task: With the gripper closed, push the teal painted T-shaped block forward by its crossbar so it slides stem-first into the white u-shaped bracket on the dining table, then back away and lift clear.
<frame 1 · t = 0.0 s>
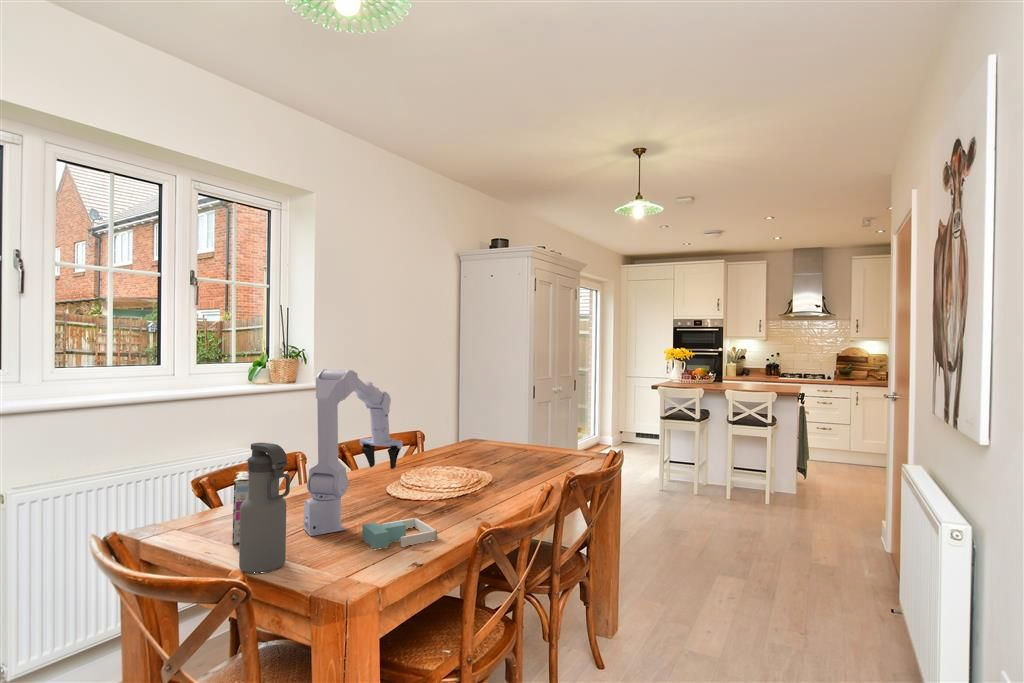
hand: (382, 467, 187), 11 cm above the table, tool pointing down, fingers open, 7 cm apart
white u-shaped bracket: (409, 536, 152), on the table
candy bar box: (244, 538, 149), on the table
t block: (386, 541, 148), on the table
water bottle: (263, 567, 131), on the table
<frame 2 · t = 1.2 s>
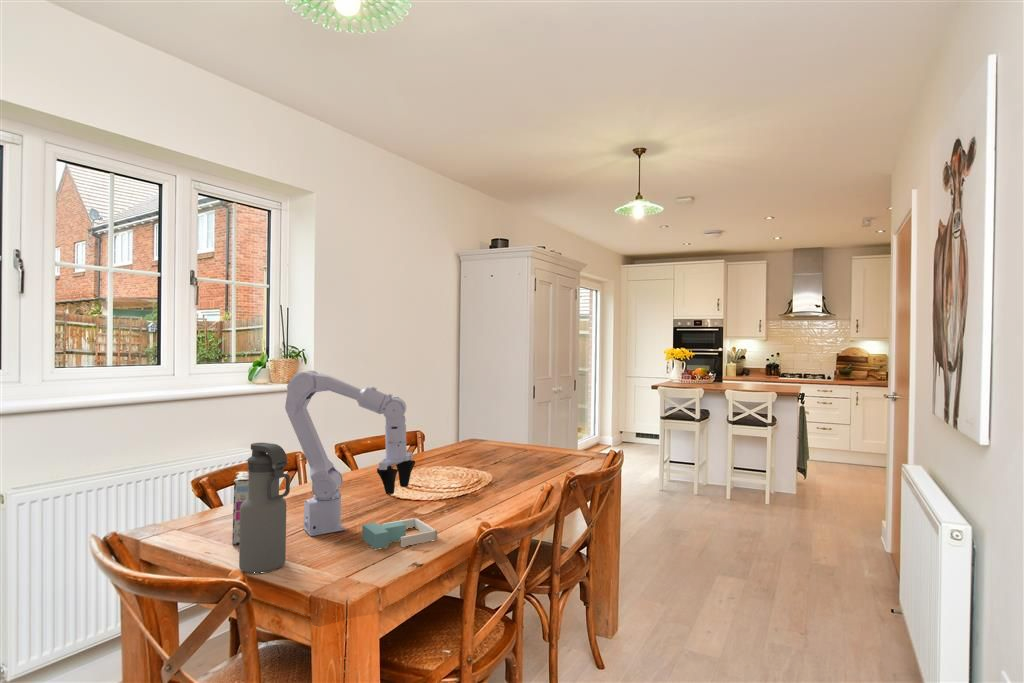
hand: (397, 490, 158), 11 cm above the table, tool pointing down, fingers open, 7 cm apart
nothing on the table moved.
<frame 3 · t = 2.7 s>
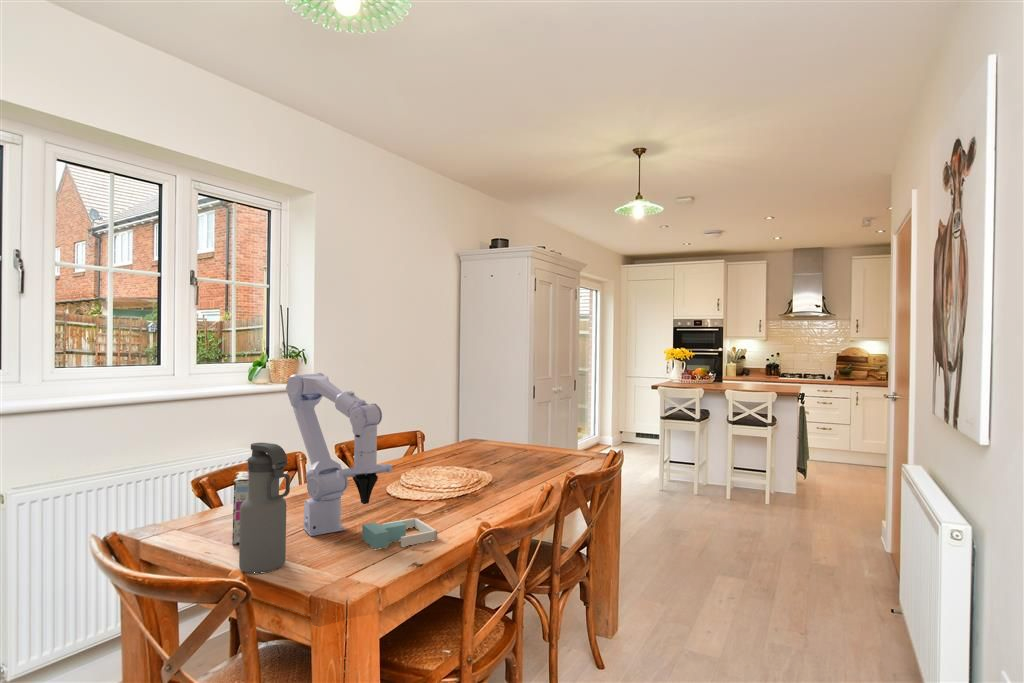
hand: (364, 502, 149), 10 cm above the table, tool pointing down, fingers closed
nothing on the table moved.
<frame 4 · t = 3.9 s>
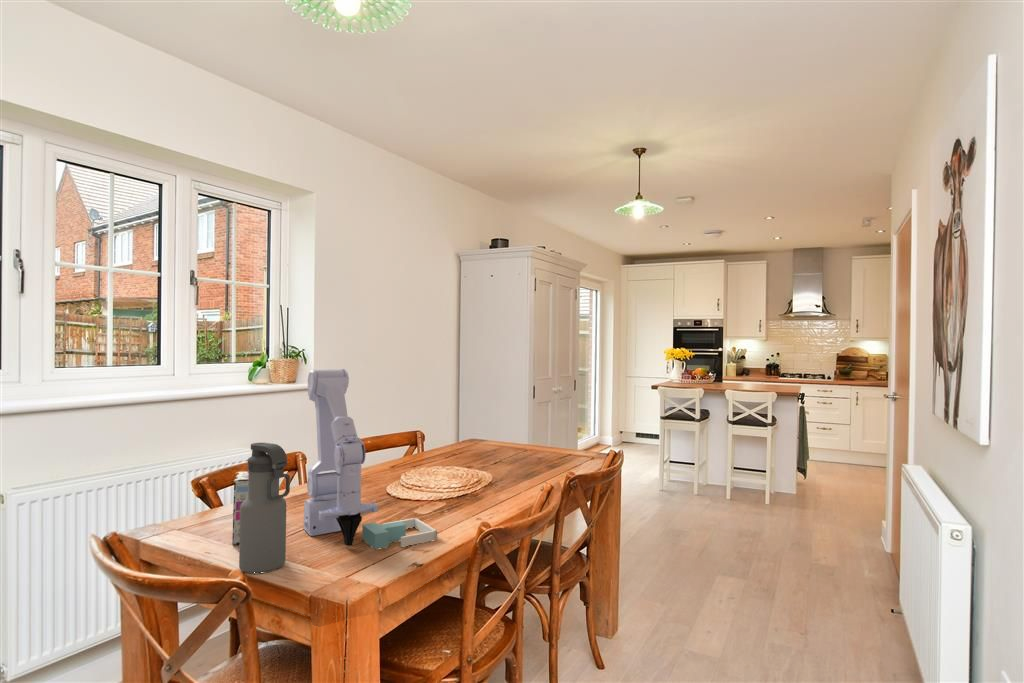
hand: (348, 544, 142), 1 cm above the table, tool pointing down, fingers closed
nothing on the table moved.
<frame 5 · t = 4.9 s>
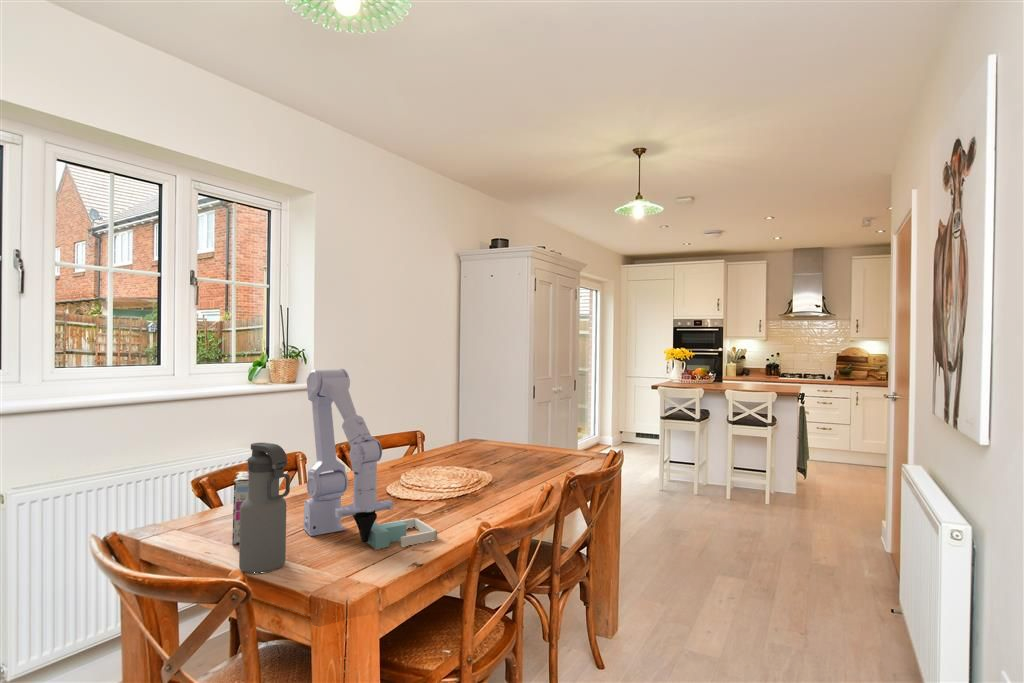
hand: (364, 541, 145), 1 cm above the table, tool pointing down, fingers closed
t block: (386, 541, 148), on the table, touching gripper
everything else where it was.
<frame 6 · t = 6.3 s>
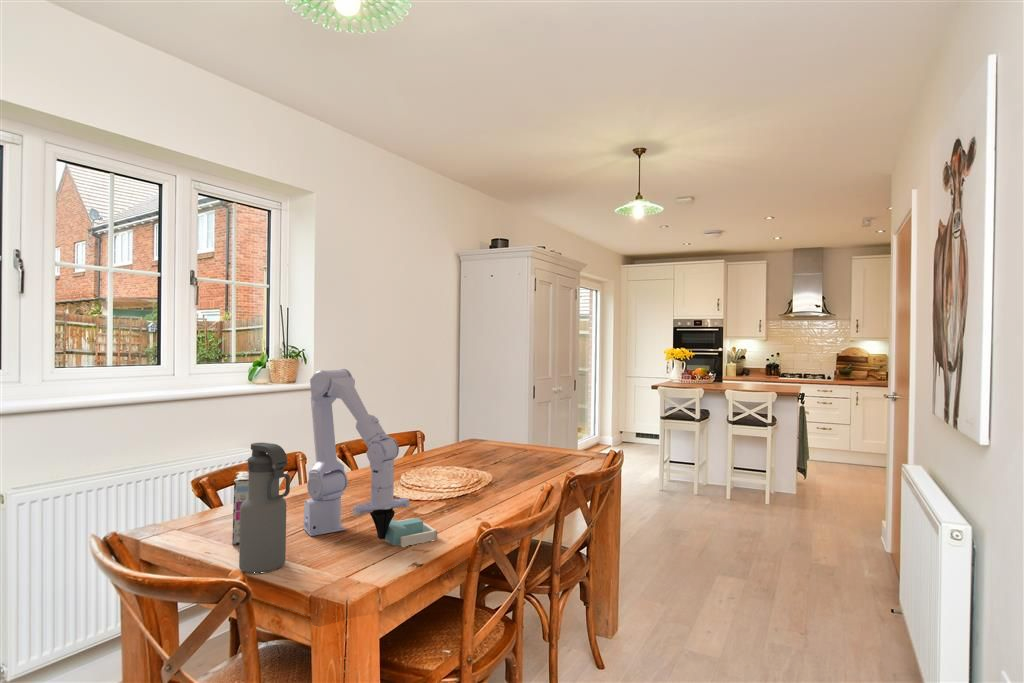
hand: (381, 538, 147), 1 cm above the table, tool pointing down, fingers closed
t block: (403, 537, 151), on the table, touching gripper
everything else where it was.
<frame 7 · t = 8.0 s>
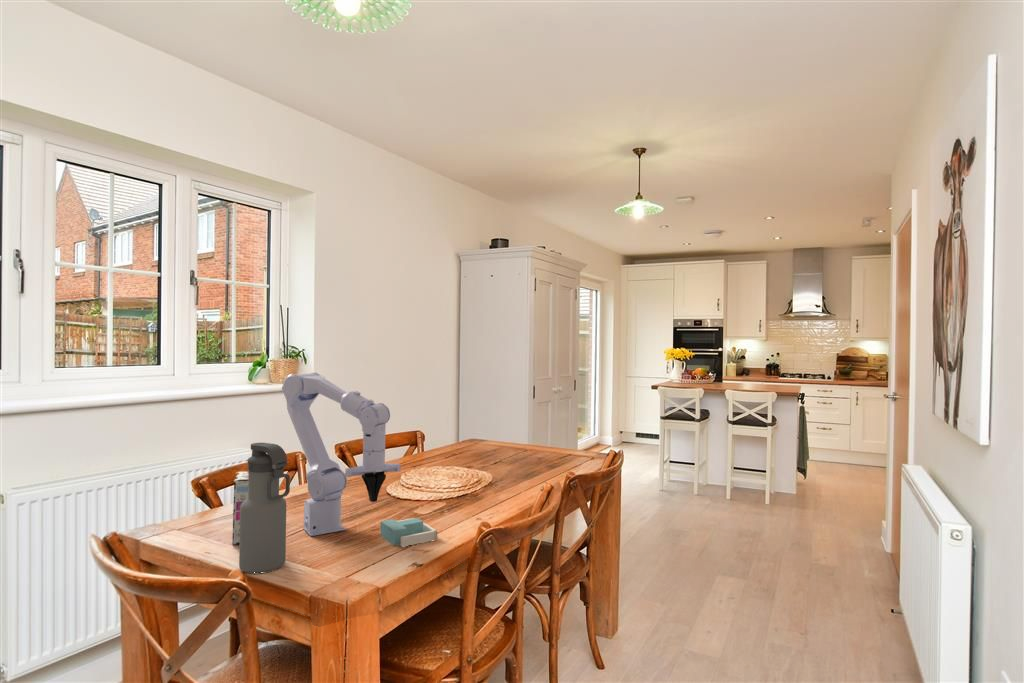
hand: (373, 500, 151), 10 cm above the table, tool pointing down, fingers closed
t block: (403, 537, 151), on the table
everything else where it was.
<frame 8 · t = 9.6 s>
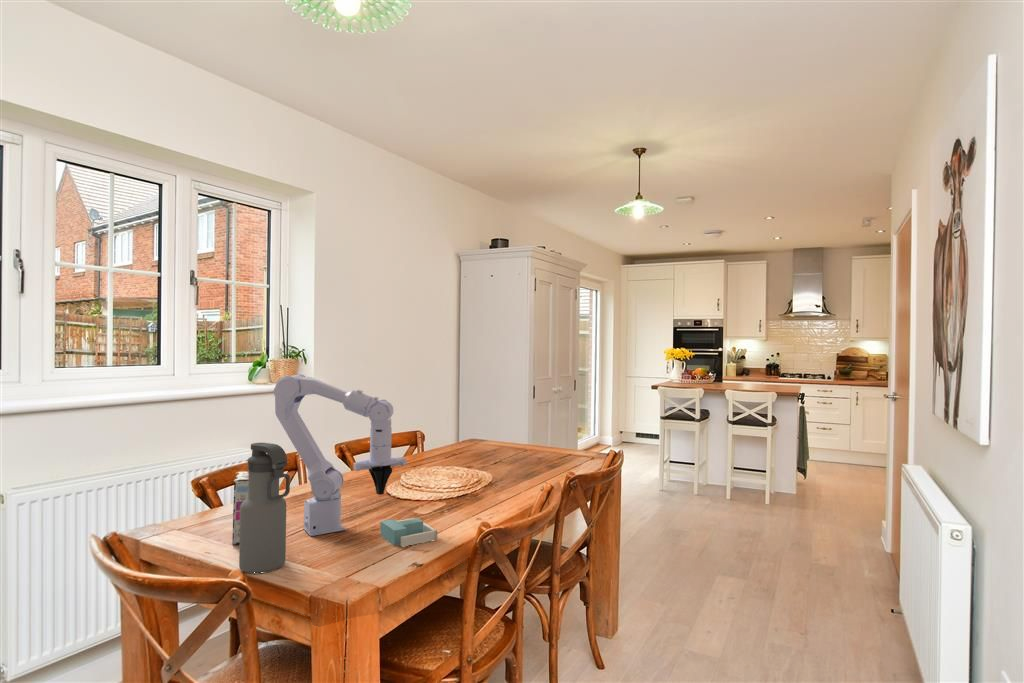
hand: (380, 493, 157), 10 cm above the table, tool pointing down, fingers closed
nothing on the table moved.
at the end: t block 0.3 cm from the target spot, on the table; t block tilted 0°; t block moved 5.0 cm from its start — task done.
